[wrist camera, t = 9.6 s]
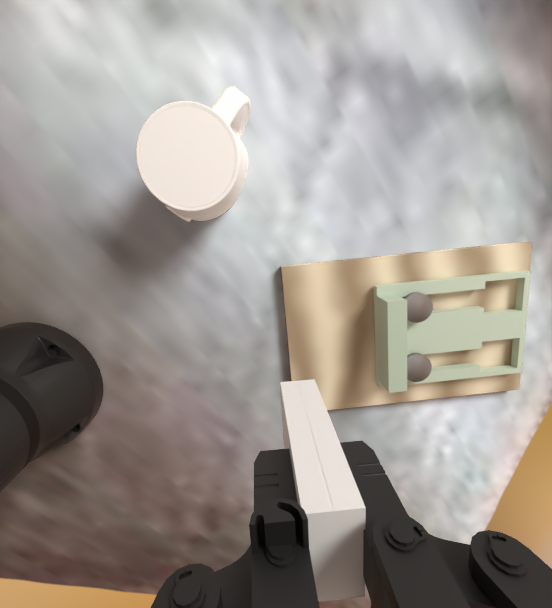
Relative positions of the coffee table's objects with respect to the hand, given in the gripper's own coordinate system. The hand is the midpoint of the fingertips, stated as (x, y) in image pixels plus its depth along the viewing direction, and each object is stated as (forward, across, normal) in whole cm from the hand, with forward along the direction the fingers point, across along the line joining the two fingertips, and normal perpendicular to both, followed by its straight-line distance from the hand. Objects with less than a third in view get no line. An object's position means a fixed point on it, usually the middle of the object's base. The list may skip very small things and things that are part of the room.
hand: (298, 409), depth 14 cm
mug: (+24, -5, +14) cm, 28 cm away
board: (+23, +16, -5) cm, 28 cm away
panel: (+22, +20, -5) cm, 30 cm away
